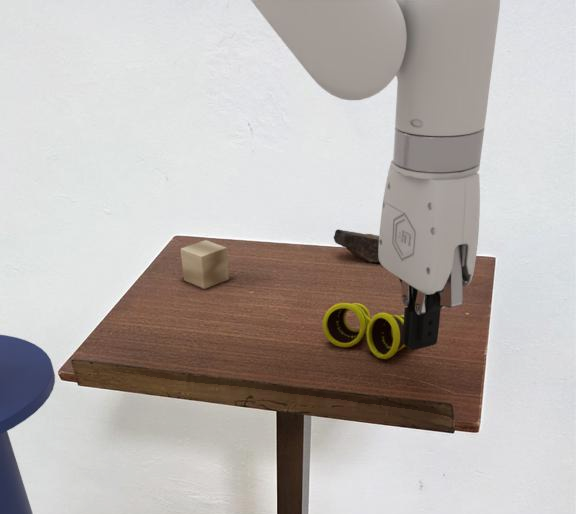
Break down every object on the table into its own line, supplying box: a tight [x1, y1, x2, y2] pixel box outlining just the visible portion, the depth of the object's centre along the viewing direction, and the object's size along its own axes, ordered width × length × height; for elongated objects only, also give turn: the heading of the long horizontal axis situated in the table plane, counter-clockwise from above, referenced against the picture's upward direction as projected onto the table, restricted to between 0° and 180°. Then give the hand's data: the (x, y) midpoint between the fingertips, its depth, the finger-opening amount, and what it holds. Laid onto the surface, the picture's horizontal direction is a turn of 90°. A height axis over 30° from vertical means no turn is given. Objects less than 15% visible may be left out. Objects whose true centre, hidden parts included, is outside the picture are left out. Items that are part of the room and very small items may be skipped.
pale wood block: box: [180, 239, 230, 290], centre depth 100 cm, size 4×4×4 cm
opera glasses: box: [322, 302, 407, 360], centre depth 84 cm, size 10×5×5 cm, turn 55°
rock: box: [333, 228, 380, 264], centre depth 105 cm, size 12×7×5 cm, turn 57°
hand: (419, 344), depth 76 cm, fingers closed
